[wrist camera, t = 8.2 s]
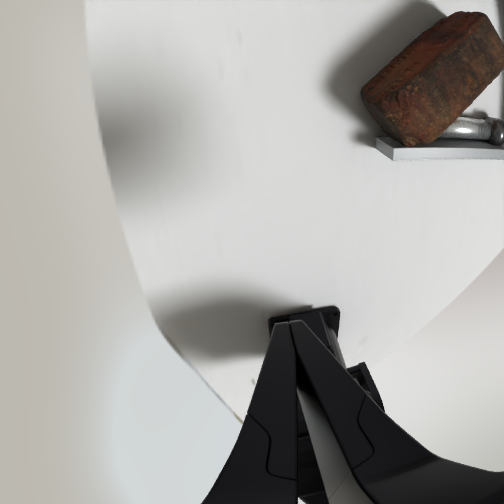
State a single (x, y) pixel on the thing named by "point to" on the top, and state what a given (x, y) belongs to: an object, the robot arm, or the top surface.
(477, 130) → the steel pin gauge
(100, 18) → the top surface
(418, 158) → the wall
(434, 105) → the brick
